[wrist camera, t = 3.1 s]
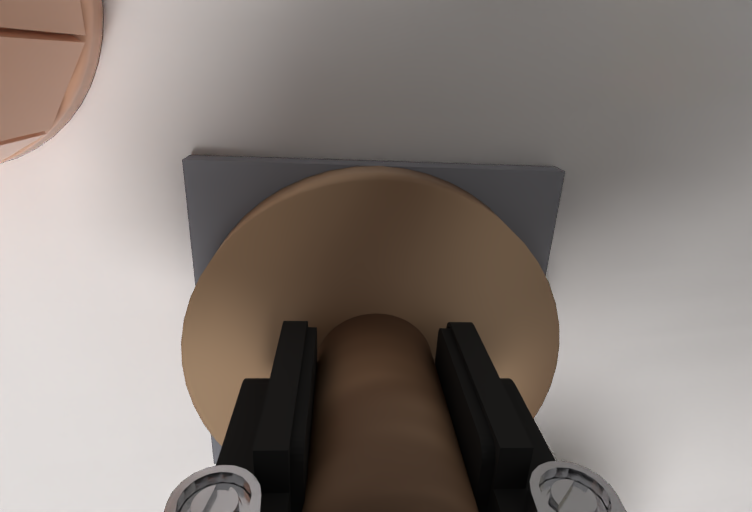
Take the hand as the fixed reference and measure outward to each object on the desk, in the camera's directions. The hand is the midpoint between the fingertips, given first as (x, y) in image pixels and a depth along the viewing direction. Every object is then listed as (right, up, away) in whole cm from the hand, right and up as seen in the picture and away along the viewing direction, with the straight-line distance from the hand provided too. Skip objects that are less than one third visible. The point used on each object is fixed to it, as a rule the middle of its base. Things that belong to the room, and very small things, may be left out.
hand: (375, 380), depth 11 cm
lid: (0, +1, +2) cm, 2 cm away
